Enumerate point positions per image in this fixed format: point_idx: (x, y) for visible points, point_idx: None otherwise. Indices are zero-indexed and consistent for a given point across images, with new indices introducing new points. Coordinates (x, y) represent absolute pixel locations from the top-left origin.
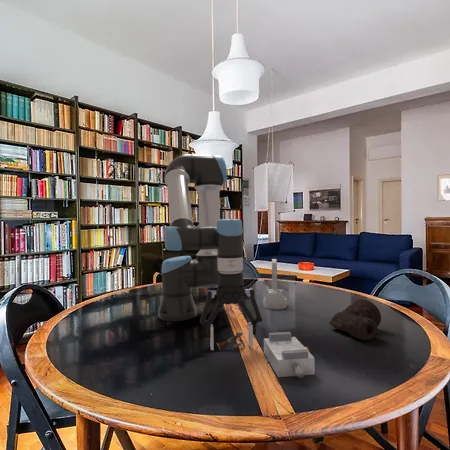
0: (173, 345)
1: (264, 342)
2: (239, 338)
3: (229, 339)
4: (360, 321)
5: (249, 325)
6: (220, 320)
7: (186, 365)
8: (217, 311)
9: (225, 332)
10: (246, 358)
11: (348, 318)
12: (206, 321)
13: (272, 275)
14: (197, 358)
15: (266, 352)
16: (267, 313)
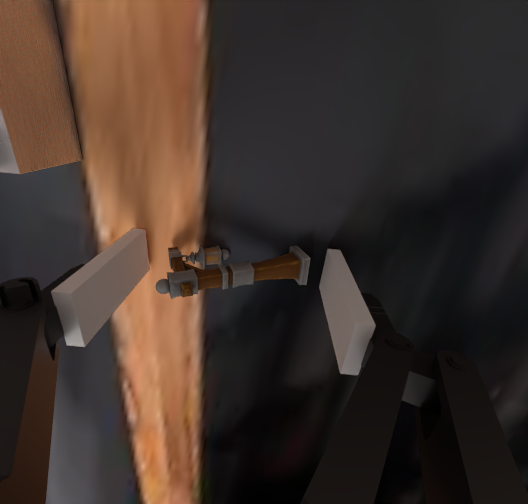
0: (476, 341)
1: (28, 148)
2: (184, 270)
3: (241, 274)
4: None
5: (80, 306)
6: (229, 481)
7: (522, 108)
8: (345, 451)
9: (231, 398)
10: (182, 113)
11: None
12: (415, 378)
13: None
14: (431, 182)
15: (49, 93)
16: (56, 491)
